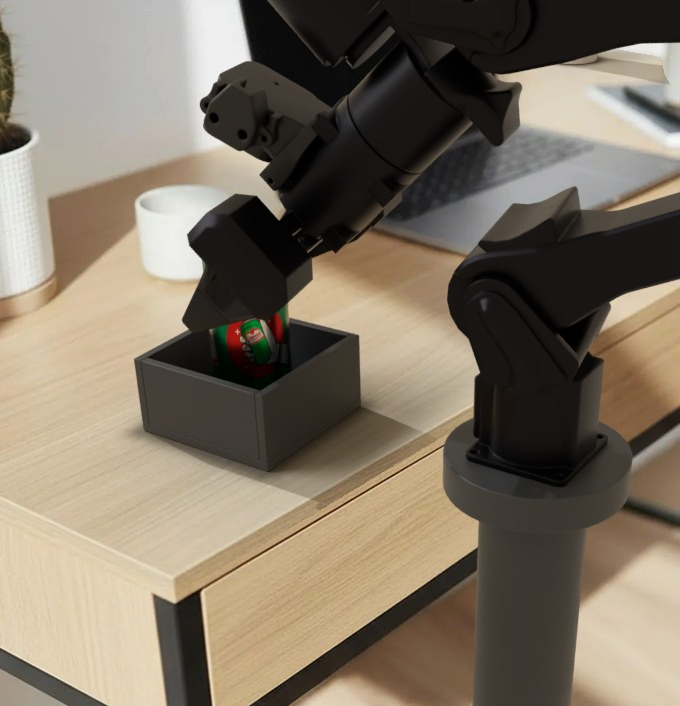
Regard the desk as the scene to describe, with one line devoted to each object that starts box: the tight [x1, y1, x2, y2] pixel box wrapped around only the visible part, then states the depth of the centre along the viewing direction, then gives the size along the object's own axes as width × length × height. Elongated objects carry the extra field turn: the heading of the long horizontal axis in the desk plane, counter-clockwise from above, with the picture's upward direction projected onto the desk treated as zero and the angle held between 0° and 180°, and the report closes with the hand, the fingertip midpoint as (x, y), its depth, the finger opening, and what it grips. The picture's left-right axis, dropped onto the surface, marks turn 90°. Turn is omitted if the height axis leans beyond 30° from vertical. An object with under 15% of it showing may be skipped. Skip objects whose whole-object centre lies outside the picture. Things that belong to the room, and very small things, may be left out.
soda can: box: [201, 259, 292, 391], centre depth 75 cm, size 5×5×12 cm
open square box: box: [133, 317, 362, 472], centre depth 77 cm, size 10×10×5 cm
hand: (223, 298), depth 75 cm, fingers open, 9 cm apart
